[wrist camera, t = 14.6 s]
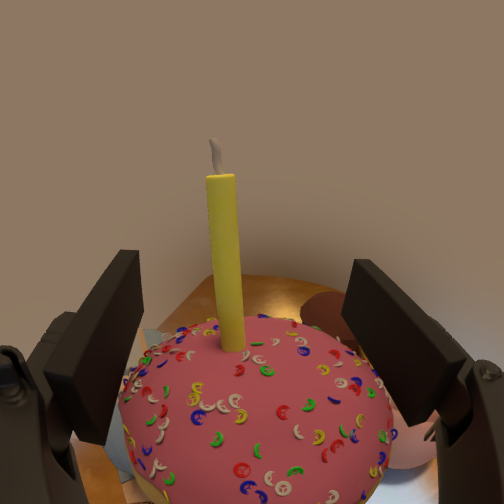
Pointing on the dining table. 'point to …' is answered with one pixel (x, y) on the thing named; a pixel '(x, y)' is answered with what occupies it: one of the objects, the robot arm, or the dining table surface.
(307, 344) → the cupcake
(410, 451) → the mortar and pestle
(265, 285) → the dining table surface
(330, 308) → the muffin
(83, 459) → the dining table surface
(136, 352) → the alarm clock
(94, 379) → the robot arm
